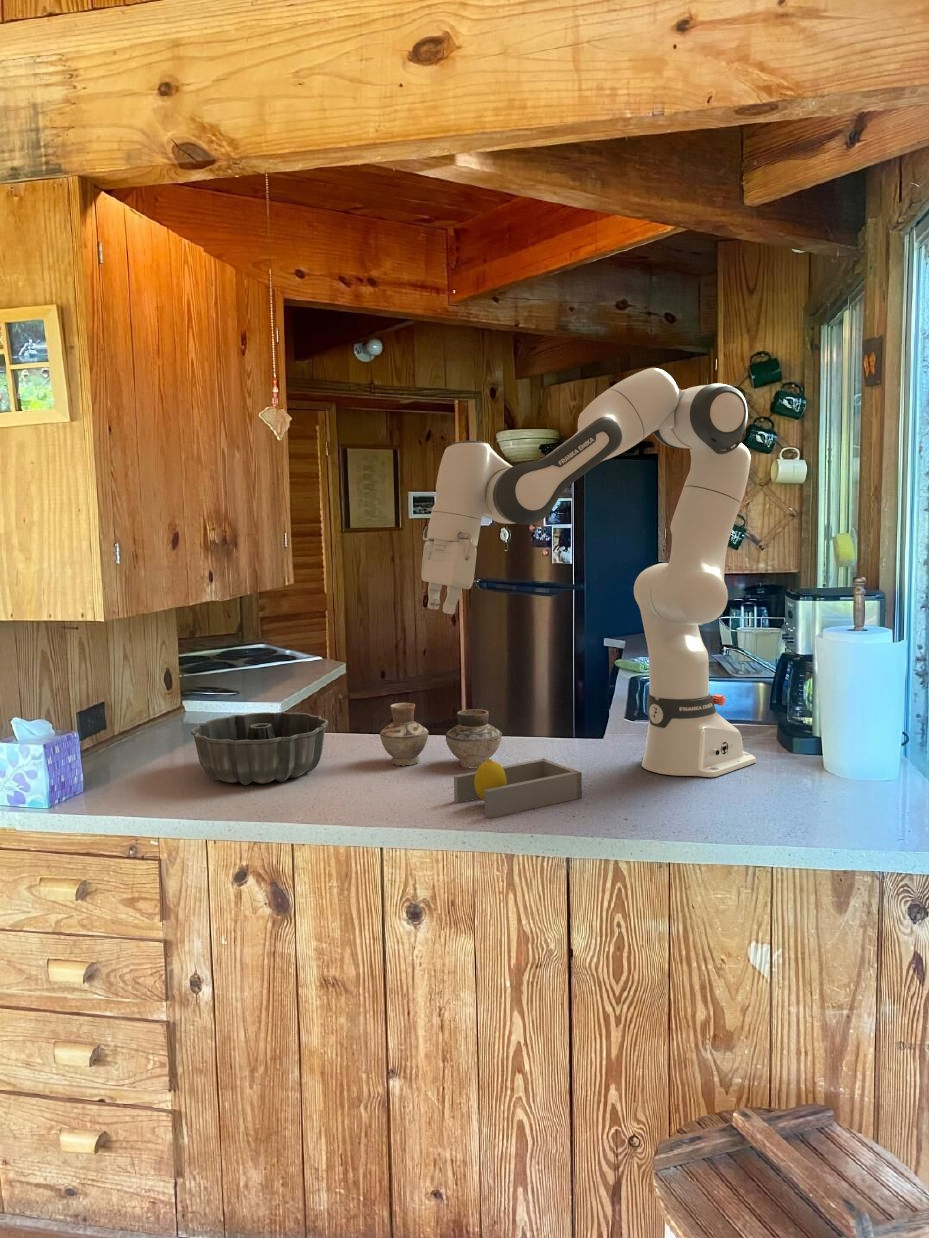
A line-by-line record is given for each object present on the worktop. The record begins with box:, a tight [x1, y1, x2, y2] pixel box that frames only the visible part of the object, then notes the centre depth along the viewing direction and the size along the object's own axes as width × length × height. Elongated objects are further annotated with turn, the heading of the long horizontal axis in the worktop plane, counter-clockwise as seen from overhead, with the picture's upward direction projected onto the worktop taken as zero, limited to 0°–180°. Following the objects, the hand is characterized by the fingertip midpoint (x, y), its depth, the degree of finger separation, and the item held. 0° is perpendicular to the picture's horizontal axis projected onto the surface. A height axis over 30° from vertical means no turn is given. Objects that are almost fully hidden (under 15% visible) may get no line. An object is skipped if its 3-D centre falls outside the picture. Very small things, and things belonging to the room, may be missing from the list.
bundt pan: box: [190, 711, 329, 786], centre depth 182 cm, size 26×26×10 cm
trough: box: [453, 758, 583, 819], centre depth 160 cm, size 19×11×4 cm, turn 120°
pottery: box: [379, 702, 503, 768], centre depth 184 cm, size 11×25×12 cm, turn 78°
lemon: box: [474, 758, 507, 802], centre depth 157 cm, size 6×6×8 cm
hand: (440, 611), depth 160 cm, fingers open, 8 cm apart
